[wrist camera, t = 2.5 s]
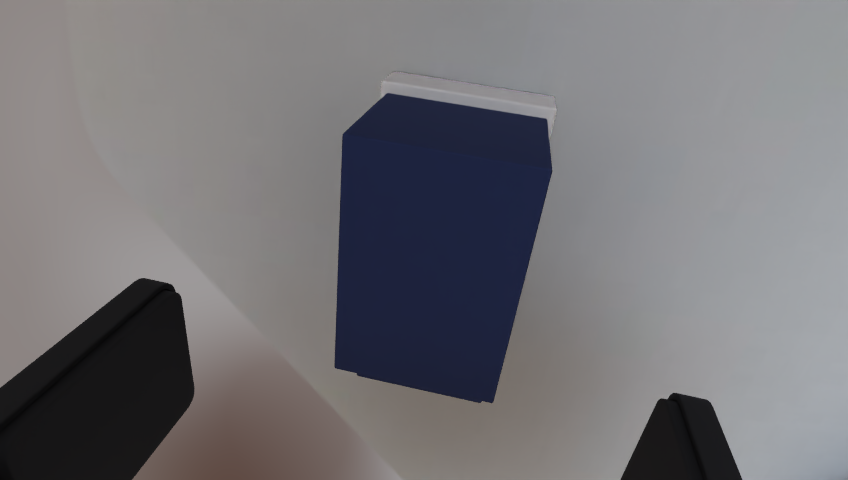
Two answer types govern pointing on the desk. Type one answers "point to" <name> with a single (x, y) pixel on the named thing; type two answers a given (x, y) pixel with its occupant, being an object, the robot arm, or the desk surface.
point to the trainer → (438, 231)
